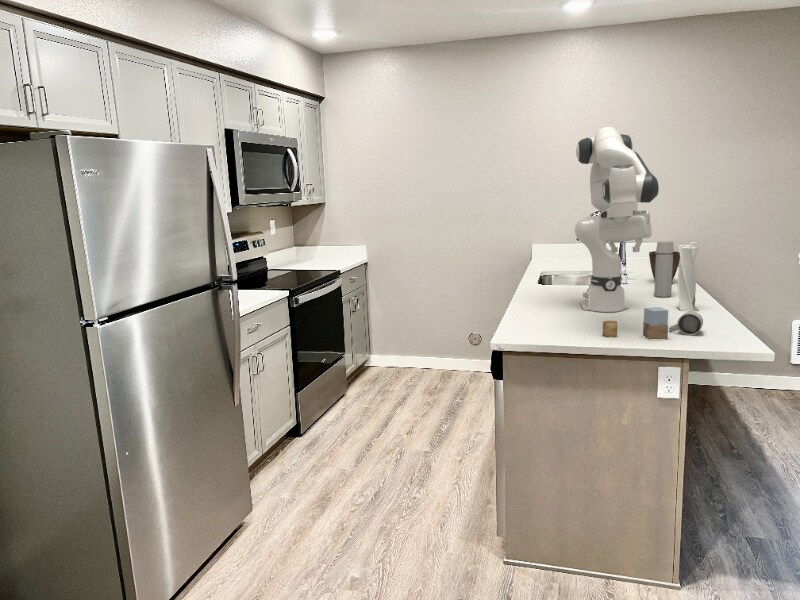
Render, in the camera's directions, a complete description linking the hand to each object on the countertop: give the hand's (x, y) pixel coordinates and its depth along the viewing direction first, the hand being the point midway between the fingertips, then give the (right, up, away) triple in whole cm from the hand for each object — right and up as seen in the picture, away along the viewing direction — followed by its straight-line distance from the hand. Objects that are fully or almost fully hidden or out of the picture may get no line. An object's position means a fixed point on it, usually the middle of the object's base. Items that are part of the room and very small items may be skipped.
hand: (625, 252), depth 206 cm
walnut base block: (+9, -29, -2) cm, 31 cm away
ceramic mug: (+22, -28, +2) cm, 36 cm away
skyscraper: (+39, -21, +38) cm, 58 cm away
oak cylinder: (-5, -29, +2) cm, 29 cm away
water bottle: (+42, -15, +67) cm, 81 cm away
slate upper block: (+9, -25, -3) cm, 26 cm away
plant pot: (+57, -8, +99) cm, 115 cm away
